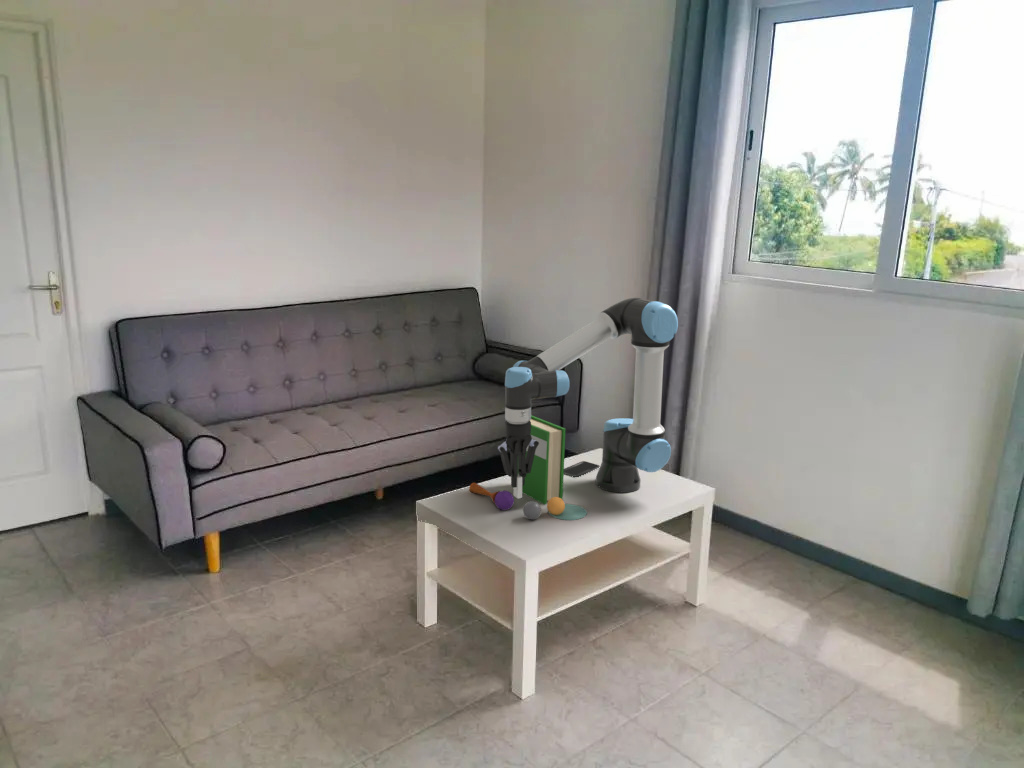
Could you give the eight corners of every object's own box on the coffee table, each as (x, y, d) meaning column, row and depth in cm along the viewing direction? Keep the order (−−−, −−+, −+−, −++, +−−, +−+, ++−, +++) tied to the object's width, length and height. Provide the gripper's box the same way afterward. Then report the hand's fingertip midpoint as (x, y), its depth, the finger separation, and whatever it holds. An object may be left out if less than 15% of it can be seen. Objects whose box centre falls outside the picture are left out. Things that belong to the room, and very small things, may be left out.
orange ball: (551, 517, 233) (564, 506, 234) (557, 519, 228) (570, 508, 229) (541, 503, 232) (554, 492, 234) (546, 505, 227) (560, 494, 228)
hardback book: (562, 499, 243) (565, 428, 237) (544, 504, 239) (547, 432, 233) (529, 482, 257) (531, 415, 251) (511, 487, 252) (513, 418, 247)
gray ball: (516, 509, 226) (525, 521, 229) (529, 512, 222) (537, 524, 225) (526, 496, 229) (535, 508, 231) (539, 498, 225) (547, 510, 227)
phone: (558, 470, 267) (583, 460, 278) (558, 473, 267) (583, 463, 278) (577, 476, 262) (601, 465, 273) (576, 479, 262) (601, 468, 273)
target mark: (582, 504, 240) (582, 503, 240) (590, 519, 228) (590, 518, 228) (545, 504, 238) (545, 504, 238) (551, 520, 227) (551, 519, 226)
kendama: (481, 478, 249) (518, 492, 233) (479, 496, 249) (516, 511, 234) (467, 478, 245) (503, 493, 230) (464, 496, 246) (501, 512, 230)
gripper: (503, 427, 211) (503, 504, 217) (544, 421, 217) (543, 497, 223) (492, 420, 218) (492, 495, 224) (531, 414, 224) (531, 488, 229)
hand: (517, 496), depth 223 cm, fingers closed
